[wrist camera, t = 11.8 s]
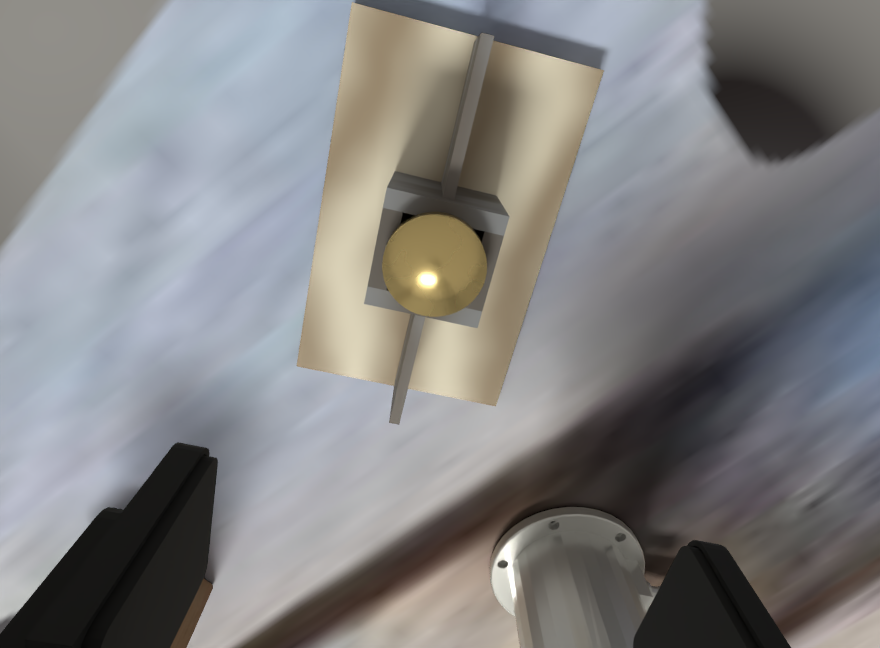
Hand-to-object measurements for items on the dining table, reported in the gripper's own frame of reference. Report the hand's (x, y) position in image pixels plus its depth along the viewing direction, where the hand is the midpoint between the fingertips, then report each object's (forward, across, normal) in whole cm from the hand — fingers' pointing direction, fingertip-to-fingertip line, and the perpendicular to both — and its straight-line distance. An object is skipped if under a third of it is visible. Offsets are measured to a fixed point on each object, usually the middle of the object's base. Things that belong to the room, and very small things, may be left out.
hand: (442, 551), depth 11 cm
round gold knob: (+24, 0, -1) cm, 24 cm away
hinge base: (+26, 0, -1) cm, 26 cm away
